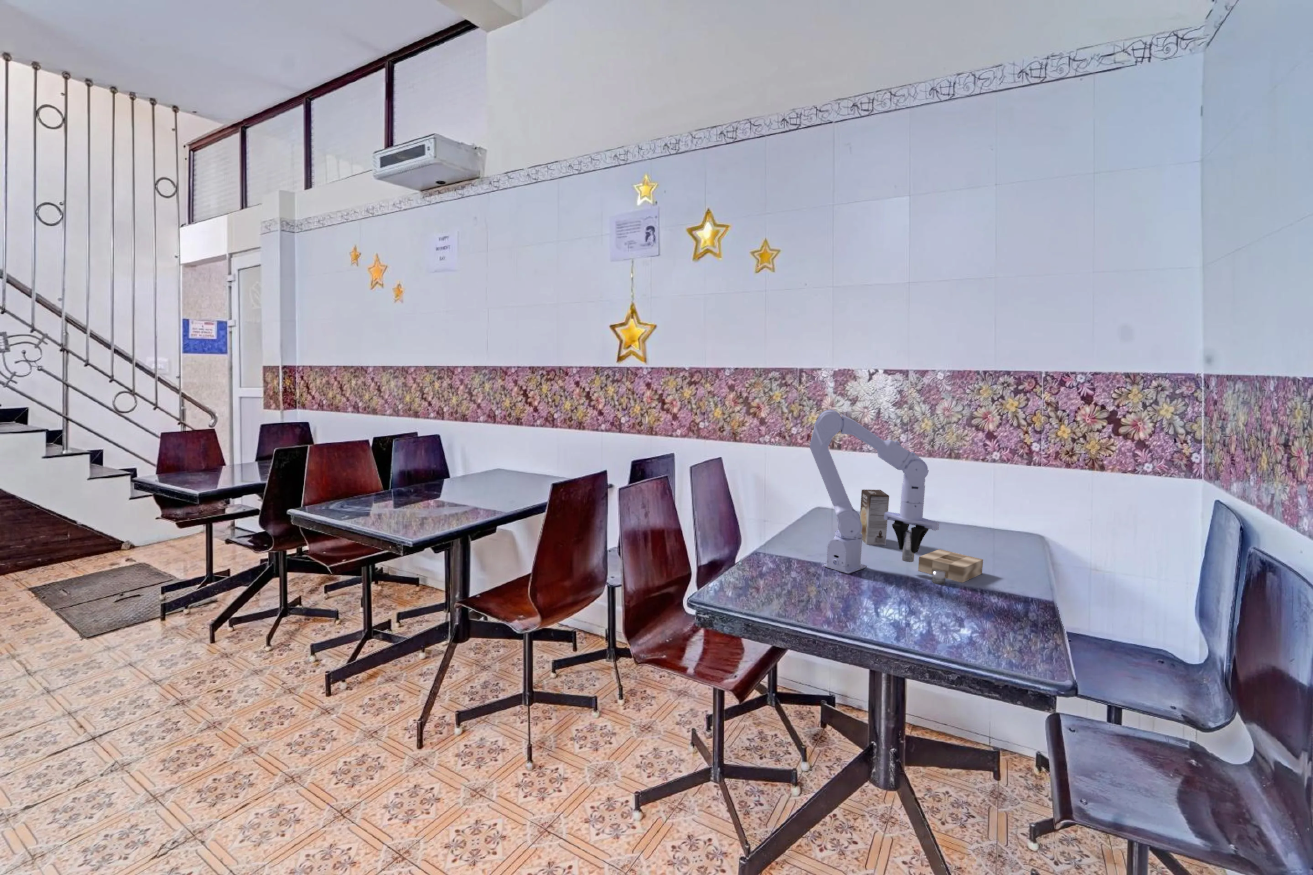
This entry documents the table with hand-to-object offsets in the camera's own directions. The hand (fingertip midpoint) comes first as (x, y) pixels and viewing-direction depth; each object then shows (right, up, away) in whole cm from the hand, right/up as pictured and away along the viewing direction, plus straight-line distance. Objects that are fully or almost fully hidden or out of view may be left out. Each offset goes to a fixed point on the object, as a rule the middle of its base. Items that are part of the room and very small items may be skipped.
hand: (908, 550), depth 169 cm
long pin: (0, -3, 0) cm, 3 cm away
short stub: (+5, -7, -7) cm, 11 cm away
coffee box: (+1, -3, +32) cm, 32 cm away
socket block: (+12, -6, +2) cm, 14 cm away
